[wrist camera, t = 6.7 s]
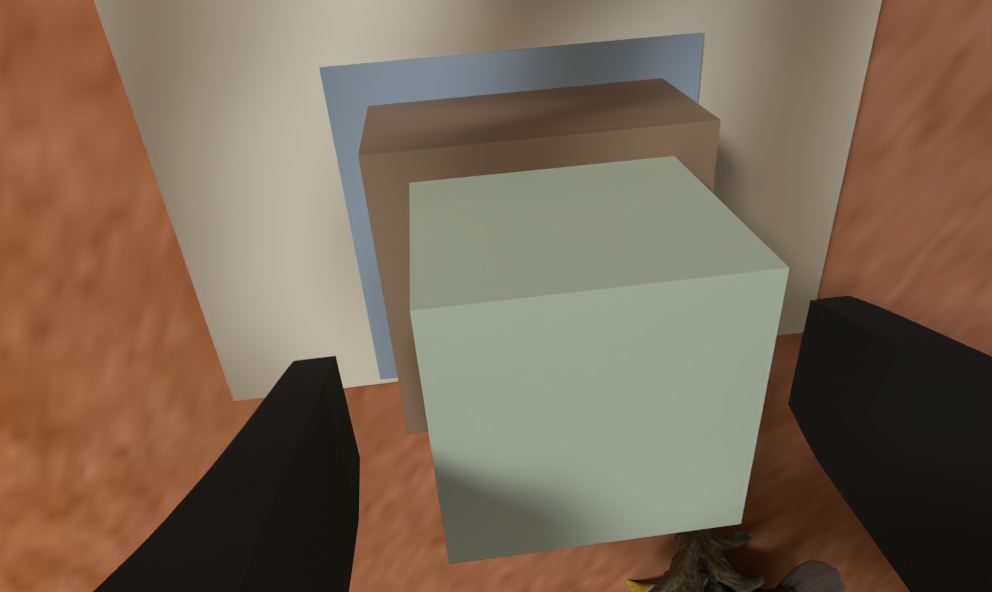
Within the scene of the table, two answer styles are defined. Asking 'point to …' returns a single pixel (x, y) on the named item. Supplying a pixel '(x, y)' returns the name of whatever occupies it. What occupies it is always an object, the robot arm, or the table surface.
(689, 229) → the green block
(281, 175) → the build plate
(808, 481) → the table surface
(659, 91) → the walnut block
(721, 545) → the eagle figurine
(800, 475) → the table surface
